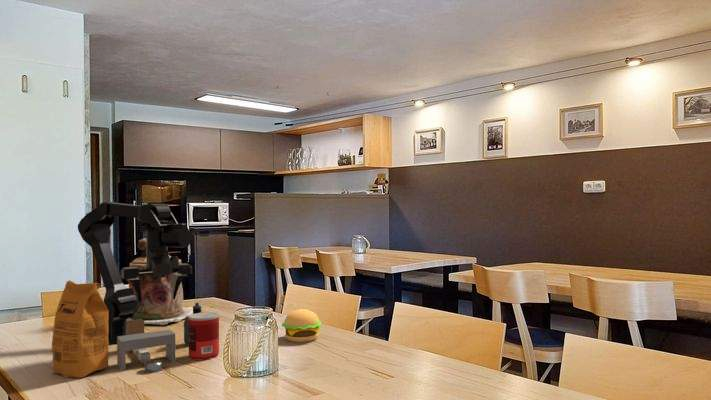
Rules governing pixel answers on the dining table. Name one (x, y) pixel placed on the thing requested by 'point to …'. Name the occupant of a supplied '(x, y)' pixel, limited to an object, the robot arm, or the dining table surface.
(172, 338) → the low shelf
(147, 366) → the steel token
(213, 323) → the canned food
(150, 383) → the dining table surface
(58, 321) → the coffee package
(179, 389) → the dining table surface
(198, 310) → the vaping device
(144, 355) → the blade tool
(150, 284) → the cookie jar
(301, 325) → the hamburger
